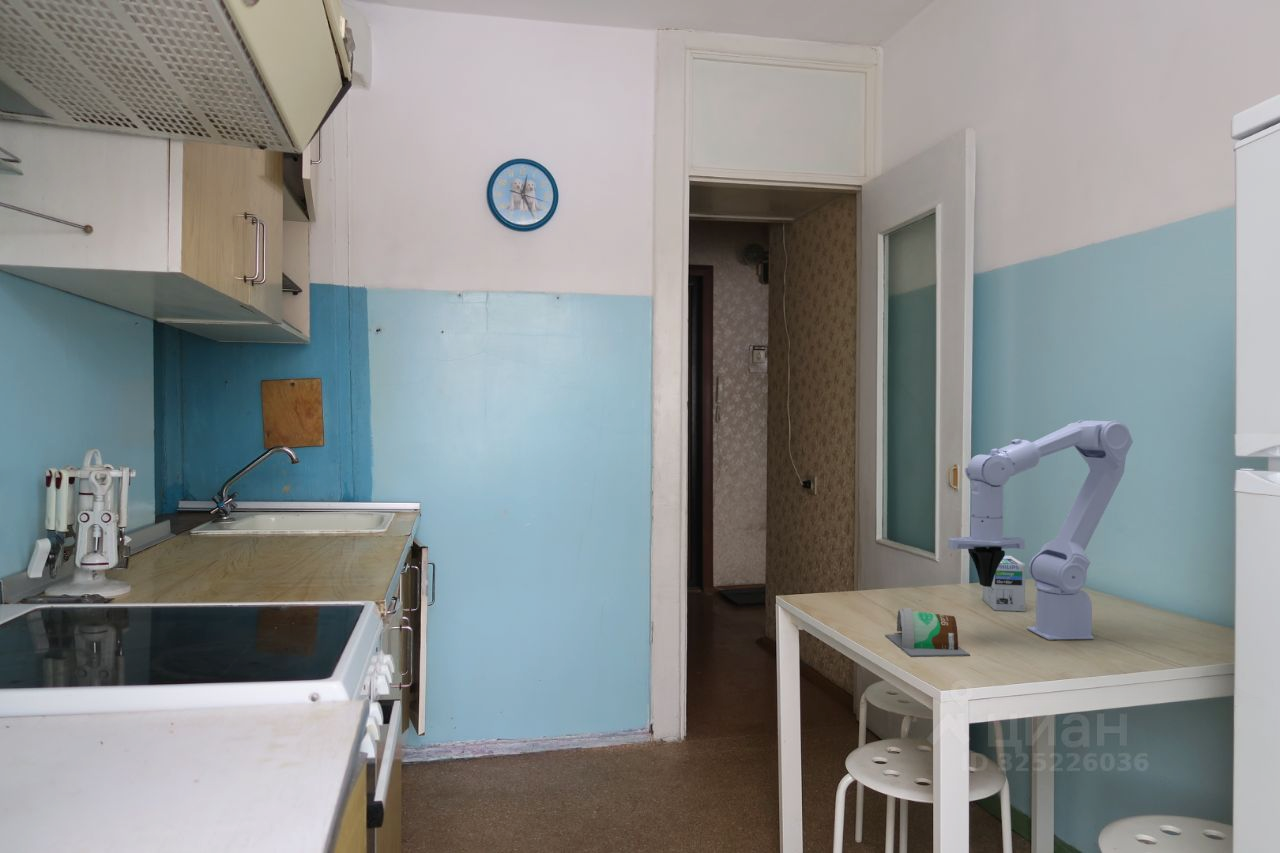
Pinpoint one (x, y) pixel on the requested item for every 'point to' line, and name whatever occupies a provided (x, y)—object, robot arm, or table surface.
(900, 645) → the mat
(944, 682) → the table surface
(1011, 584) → the light bulb box
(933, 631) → the food container
